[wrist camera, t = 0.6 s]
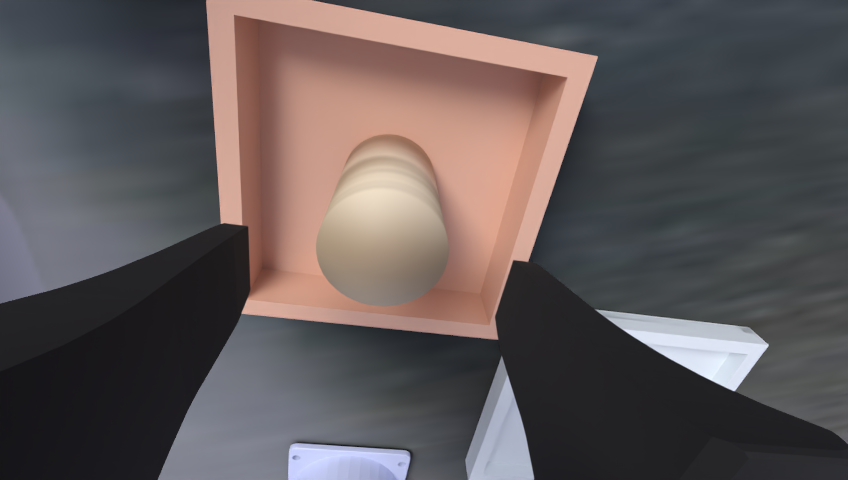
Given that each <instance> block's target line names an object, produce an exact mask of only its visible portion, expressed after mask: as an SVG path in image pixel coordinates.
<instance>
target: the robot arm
mask: <svg viewBox="0 0 848 480" xmlns="http://www.w3.org/2000/svg"><path fill="white" fill-rule="evenodd" d="M250 290H251V289H250V260H249V230H248V226H244V225H236V224H228V223H223V224H220V225H217V226H214V227H212V228H210V229H207V230H205V231H203V232H201V233H198V234H196V235H194V236H192V237H190V238H188V239H185V240H183V241H181V242H179V243H177V244H174V245H172V246H170V247H168V248H165V249H163V250H161V251H159V252H157V253H154V254H152V255H149V256H147V257H144V258H142V259H139V260H137V261H134V262H132V263H130V264H127V265H125V266H122V267H120V268H117V269H115V270H112V271H109V272H107V273H104V274H101V275H98V276H95V277H92V278H89V279H86V280H83V281H80V282H77V283H74V284H71V285H67V286H64V287H61V288H58V289H54V290H51V291H47V292H43V293H39V294H35V295H32V296H28V297H24V298H20V299H16V300H12V301H9V302H5V303H1V304H0V480H158V477H159V475H160V473H161V470H162V468H163V465H164V463H165V461H166V458H167V456H168V454H169V451H170V449H171V447H172V444H173V442H174V440H175V438H176V435H177V433H178V431H179V429H180V427H181V424H182V422H183V420H184V418H185V415H186V413H187V411H188V409H189V407H190V405H191V403H192V401H193V399H194V398H195V396H196V394H197V392H198V390H199V388H200V387H201V385H202V383H203V382H204V380H205V378H206V376H207V375H208V373H209V371H210V370H211V368H212V366H213V364H214V363H215V361H216V359H217V358H218V356H219V354H220V352H221V351H222V349H223V347H224V346H225V344H226V342H227V340H228V339H229V337H230V335H231V333H232V332H233V330H234V328H235V326H236V324H237V323H238V321H239V318H240V316H241V313H242V311H243V309H244V306H245V303H246V301H247V298H248V296H249V293H250ZM495 321H496V329H497V336H498V341H499V347H500V351H501V354H502V358H503V361H504V365H505V368H506V371H507V374H508V378H509V381H510V384H511V387H512V390H513V394H514V397H515V400H516V403H517V407H518V410H519V413H520V416H521V420H522V423H523V427H524V431H525V435H526V440H527V445H528V450H529V455H530V460H531V465H532V470H533V475H534V480H848V444H847V443H846V442H845V441H844V440H842V439H841V438H840V437H839V436H838V435H836V434H835V433H833V432H832V431H830V430H827V429H825V428H822V427H820V426H817V425H814V424H812V423H809V422H807V421H804V420H802V419H799V418H797V417H794V416H792V415H789V414H786V413H784V412H781V411H779V410H776V409H774V408H771V407H769V406H766V405H764V404H761V403H759V402H757V401H755V400H752V399H750V398H748V397H746V396H744V395H741V394H739V393H737V392H735V391H732V390H730V389H728V388H726V387H724V386H722V385H720V384H718V383H715V382H713V381H711V380H709V379H707V378H705V377H703V376H701V375H699V374H697V373H696V372H694V371H692V370H690V369H688V368H686V367H684V366H682V365H680V364H679V363H677V362H675V361H673V360H671V359H669V358H668V357H666V356H664V355H662V354H661V353H659V352H657V351H656V350H654V349H652V348H651V347H649V346H648V345H646V344H644V343H643V342H641V341H640V340H638V339H636V338H635V337H633V336H632V335H630V334H629V333H627V332H626V331H624V330H623V329H621V328H620V327H618V326H617V325H615V324H614V323H613V322H611V321H610V320H608V319H607V318H606V317H604V316H603V315H602V314H600V313H599V312H598V311H596V310H595V309H594V308H592V307H591V306H590V305H588V304H587V303H586V302H584V301H583V300H582V299H581V298H579V297H578V296H577V295H576V294H574V293H573V292H572V291H571V290H569V289H568V288H567V287H566V286H564V285H563V284H562V283H561V282H560V281H558V280H557V279H556V278H555V277H553V276H552V275H551V274H549V273H548V272H547V271H546V270H544V269H543V268H541V267H540V266H539V265H537V264H535V263H533V262H526V261H518V260H513V262H512V265H511V268H510V272H509V275H508V278H507V281H506V284H505V287H504V290H503V293H502V296H501V299H500V303H499V306H498V309H497V312H496V315H495ZM409 463H410V453H409V452H408V451H406V450H394V449H379V448H364V447H349V446H334V445H319V444H304V443H295V444H292V445H291V446H290V450H289V468H288V480H405V479H406V475H407V471H408V467H409Z"/></svg>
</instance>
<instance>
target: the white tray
mask: <svg viewBox="0 0 848 480" xmlns="http://www.w3.org/2000/svg"><path fill="white" fill-rule="evenodd" d="M596 311H598V312H599V313H600V314H602V315H603V316H604V317H606V318H607V319H608V320H610V321H611V322H613V323H614V324H615V325H617V326H618V327H620V328H621V329H623V330H624V331H626V332H627V333H629V334H630V335H632V336H633V337H635V338H636V339H638V340H640V341H641V342H643V343H644V344H646V345H648V346H649V347H651V348H652V349H654V350H656V351H657V352H659V353H661V354H662V355H664V356H666V357H668V358H669V359H671V360H673V361H675V362H677V363H679V364H680V365H682V366H684V367H686V368H688V369H690V370H692V371H694V372H696V373H697V374H699V375H701V376H703V377H705V378H707V379H709V380H711V381H713V382H715V383H718V384H720V385H722V386H724V387H726V388H728V389H730V390H732V391H735V390H736V388H737V387H738V386H739V384H740V383H741V382H742V380H743V379H744V378H745V376H746V375H747V374H748V372H749V371H750V370H751V368H752V367H753V366H754V364H755V363H756V362H757V360H758V359H759V358H760V356H761V355H762V354H763V352H764V351H765V350H766V348H767V347H768V346H769V345H768V344H767V343H766V342H765V341H764V340H762V339H761V338H760V337H759V336H758V335H757V334H756V333H755V332H753V331H752V330H751V329H750V328H749V327H742V326H734V325H725V324H716V323H708V322H699V321H690V320H682V319H673V318H664V317H656V316H647V315H638V314H630V313H621V312H612V311H604V310H596ZM465 462H466V469H467V476H468V480H534V475H533V470H532V465H531V460H530V455H529V450H528V445H527V440H526V435H525V431H524V427H523V423H522V420H521V416H520V413H519V410H518V407H517V403H516V400H515V397H514V394H513V390H512V387H511V384H510V381H509V378H508V374H507V371H506V368H505V365H504V361H503V358H502V357H501V359H500V362H499V365H498V368H497V371H496V374H495V377H494V379H493V382H492V385H491V388H490V391H489V394H488V397H487V399H486V402H485V405H484V408H483V411H482V414H481V417H480V419H479V422H478V425H477V428H476V431H475V434H474V437H473V439H472V442H471V445H470V448H469V451H468V454H467V457H466V459H465Z"/></svg>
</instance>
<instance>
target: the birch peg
mask: <svg viewBox="0 0 848 480" xmlns="http://www.w3.org/2000/svg"><path fill="white" fill-rule="evenodd" d="M316 255H317V260H318V263H319V266H320V269H321V271H322V273H323V275H324V276H325V277H326V279H327V280H328V282H329V283H330V284H331V285H332V286H333V287H334V288H335V289H336V290H338V291H339V292H340V293H342V294H343V295H345V296H346V297H348V298H350V299H352V300H355V301H357V302H360V303H363V304H367V305H373V306H395V305H401V304H404V303H408V302H410V301H413V300H415V299H417V298H419V297H421V296H422V295H424V294H425V293H427V292H428V291H429V290H430V289H431V288H433V287H434V286H435V284H436V283H437V282H438V281H439V279H440V278H441V276H442V275H443V273H444V270H445V268H446V265H447V262H448V256H449V244H448V238H447V233H446V228H445V223H444V219H443V214H442V209H441V204H440V199H439V194H438V190H437V185H436V180H435V175H434V170H433V166H432V163H431V161H430V159H429V157H428V156H427V154H426V153H425V151H424V150H423V149H422V148H421V147H420V146H419V145H418V144H416V143H415V142H413V141H412V140H410V139H408V138H405V137H403V136H399V135H393V134H382V135H377V136H373V137H370V138H368V139H366V140H364V141H363V142H361V143H360V144H359V145H358V146H356V147H355V149H354V150H353V151H352V152H351V154H350V155H349V157H348V159H347V161H346V164H345V166H344V169H343V171H342V174H341V176H340V179H339V181H338V184H337V186H336V189H335V191H334V194H333V196H332V199H331V201H330V204H329V206H328V209H327V211H326V214H325V217H324V219H323V222H322V224H321V227H320V229H319V232H318V236H317V241H316Z"/></svg>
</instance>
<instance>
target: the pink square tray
mask: <svg viewBox="0 0 848 480" xmlns="http://www.w3.org/2000/svg"><path fill="white" fill-rule="evenodd" d="M206 6H207V21H208V35H209V50H210V65H211V80H212V95H213V110H214V125H215V140H216V154H217V169H218V184H219V199H220V214H221V224H223V223H228V224H236V225H244V226H248V230H249V260H250V289H251V290H250V293H249V296H248V298H247V301H246V303H245V306H244V309H243V311H242V313H241V314H251V315H261V316H271V317H281V318H290V319H300V320H310V321H320V322H329V323H339V324H349V325H359V326H368V327H378V328H388V329H398V330H408V331H417V332H427V333H437V334H447V335H456V336H466V337H476V338H486V339H496V340H498V336H497V329H496V321H495V315H496V312H497V309H498V306H499V303H500V299H501V296H502V293H503V290H504V287H505V284H506V281H507V278H508V275H509V272H510V268H511V265H512V262H513V260H518V261H526V262H528V260H529V257H530V254H531V252H532V249H533V246H534V243H535V240H536V237H537V234H538V231H539V228H540V225H541V222H542V219H543V216H544V213H545V210H546V208H547V205H548V202H549V199H550V196H551V193H552V190H553V187H554V184H555V181H556V178H557V175H558V172H559V169H560V166H561V164H562V161H563V158H564V155H565V152H566V149H567V146H568V143H569V140H570V137H571V134H572V131H573V128H574V125H575V122H576V120H577V117H578V114H579V111H580V108H581V105H582V102H583V99H584V96H585V93H586V90H587V87H588V84H589V81H590V78H591V76H592V73H593V70H594V67H595V64H596V61H597V58H598V56H593V55H588V54H582V53H577V52H572V51H567V50H562V49H557V48H552V47H547V46H542V45H537V44H532V43H526V42H521V41H516V40H511V39H506V38H501V37H496V36H491V35H486V34H481V33H475V32H470V31H465V30H460V29H455V28H450V27H445V26H440V25H435V24H430V23H424V22H419V21H414V20H409V19H404V18H399V17H394V16H389V15H384V14H379V13H373V12H368V11H363V10H358V9H353V8H348V7H343V6H338V5H333V4H328V3H323V2H317V1H312V0H206ZM382 134H393V135H399V136H403V137H405V138H408V139H410V140H412V141H413V142H415V143H416V144H418V145H419V146H420V147H421V148H422V149H423V150H424V151H425V153H426V154H427V156H428V157H429V159H430V161H431V163H432V166H433V170H434V175H435V180H436V185H437V190H438V194H439V199H440V204H441V209H442V214H443V219H444V223H445V228H446V233H447V238H448V244H449V256H448V262H447V265H446V268H445V270H444V273H443V275H442V276H441V278H440V279H439V281H438V282H437V283H436V284H435V286H434V287H433V288H431V289H430V290H429V291H428V292H427V293H425V294H424V295H422V296H421V297H419V298H417V299H415V300H413V301H410V302H408V303H404V304H401V305H395V306H373V305H367V304H363V303H360V302H357V301H355V300H352V299H350V298H348V297H346V296H345V295H343V294H342V293H340V292H339V291H338V290H336V289H335V288H334V287H333V286H332V285H331V284H330V283H329V282H328V280H327V279H326V277H325V276H324V275H323V273H322V271H321V269H320V266H319V263H318V260H317V255H316V241H317V236H318V232H319V229H320V227H321V224H322V222H323V219H324V217H325V214H326V211H327V209H328V206H329V204H330V201H331V199H332V196H333V194H334V191H335V189H336V186H337V184H338V181H339V179H340V176H341V174H342V171H343V169H344V166H345V164H346V161H347V159H348V157H349V155H350V154H351V152H352V151H353V150H354V149H355V147H356V146H358V145H359V144H360V143H361V142H363V141H364V140H366V139H368V138H370V137H373V136H377V135H382Z"/></svg>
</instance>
